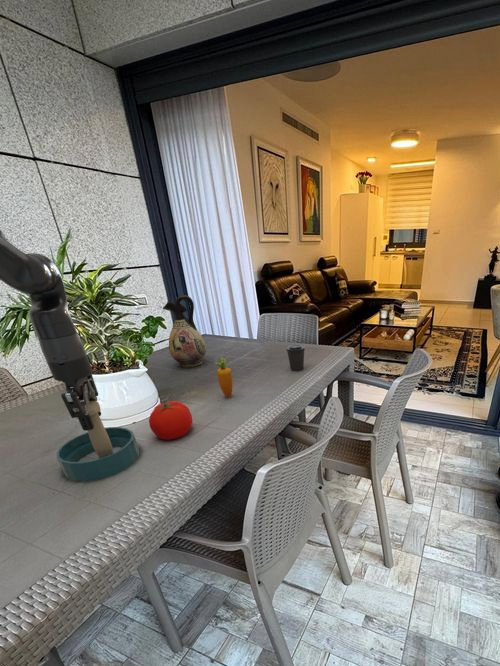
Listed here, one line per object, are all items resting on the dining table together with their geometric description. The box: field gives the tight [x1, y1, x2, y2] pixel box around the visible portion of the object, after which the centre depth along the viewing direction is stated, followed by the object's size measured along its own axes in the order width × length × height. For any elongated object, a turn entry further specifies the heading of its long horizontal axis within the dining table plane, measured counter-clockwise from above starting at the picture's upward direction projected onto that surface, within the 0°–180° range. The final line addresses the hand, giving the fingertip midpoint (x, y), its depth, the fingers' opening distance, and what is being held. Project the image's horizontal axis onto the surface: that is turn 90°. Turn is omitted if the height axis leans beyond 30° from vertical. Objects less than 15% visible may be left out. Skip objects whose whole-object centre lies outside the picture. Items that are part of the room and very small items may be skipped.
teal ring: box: [56, 426, 141, 482], centre depth 91 cm, size 17×17×6 cm
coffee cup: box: [285, 344, 306, 372], centre depth 147 cm, size 8×8×10 cm
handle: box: [78, 400, 114, 458], centre depth 86 cm, size 5×6×15 cm
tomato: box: [148, 399, 193, 441], centre depth 101 cm, size 12×12×10 cm
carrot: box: [214, 356, 233, 399], centre depth 122 cm, size 5×5×15 cm
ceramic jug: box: [162, 294, 207, 368], centre depth 153 cm, size 17×15×30 cm
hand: (92, 422), depth 85 cm, fingers closed on handle, 6 cm apart
